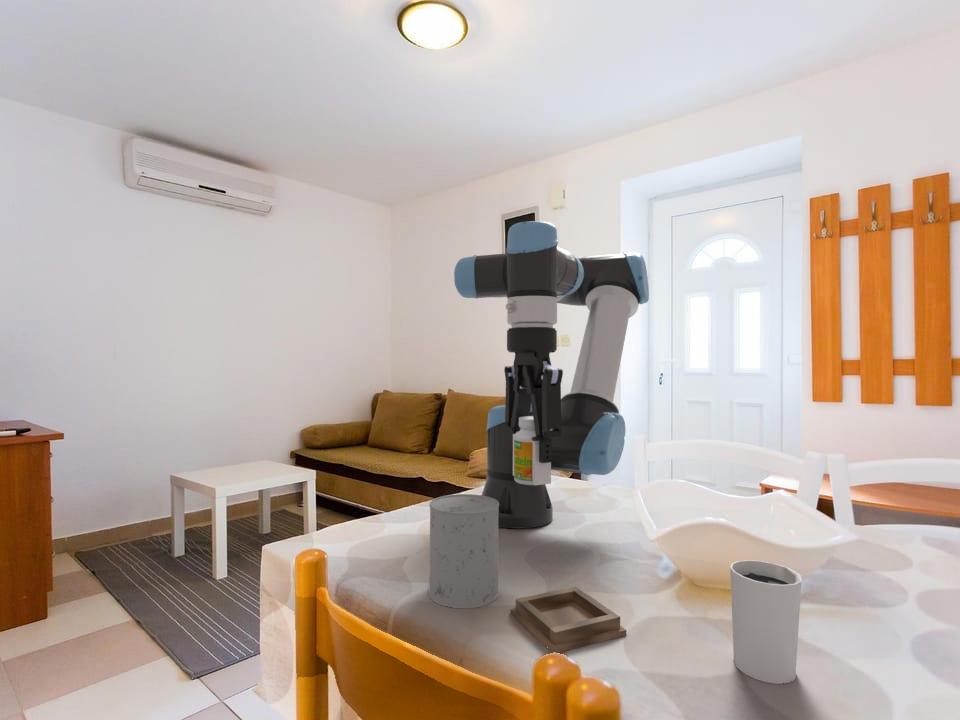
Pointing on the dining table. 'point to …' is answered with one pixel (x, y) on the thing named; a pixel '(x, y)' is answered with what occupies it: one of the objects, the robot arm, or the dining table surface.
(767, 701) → the dining table surface
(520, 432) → the supplement bottle
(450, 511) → the gray concrete cylinder
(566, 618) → the walnut holder
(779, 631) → the white cup
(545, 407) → the robot arm
